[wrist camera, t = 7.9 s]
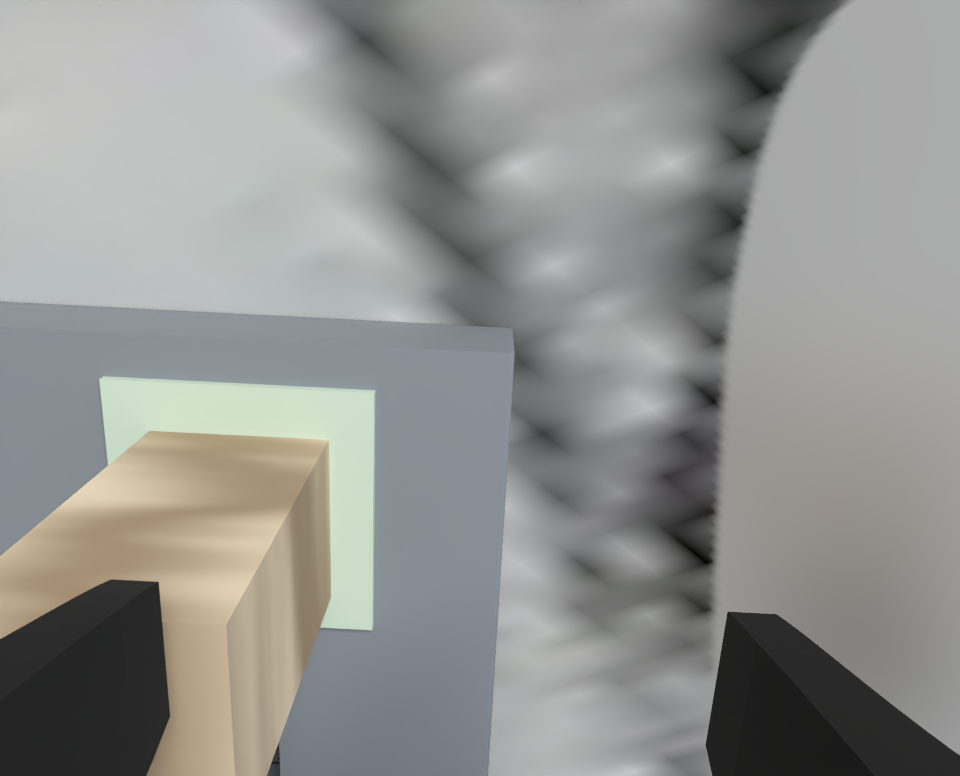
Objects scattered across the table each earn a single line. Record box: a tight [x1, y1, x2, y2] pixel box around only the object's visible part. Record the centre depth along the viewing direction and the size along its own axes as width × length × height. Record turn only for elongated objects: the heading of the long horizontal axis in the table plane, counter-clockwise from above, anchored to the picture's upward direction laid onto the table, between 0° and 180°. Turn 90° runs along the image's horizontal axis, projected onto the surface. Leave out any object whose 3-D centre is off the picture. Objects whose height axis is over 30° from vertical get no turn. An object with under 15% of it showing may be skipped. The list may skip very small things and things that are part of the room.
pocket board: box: [0, 302, 515, 776], centre depth 21 cm, size 14×16×3 cm
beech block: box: [0, 431, 331, 776], centre depth 15 cm, size 4×4×7 cm
